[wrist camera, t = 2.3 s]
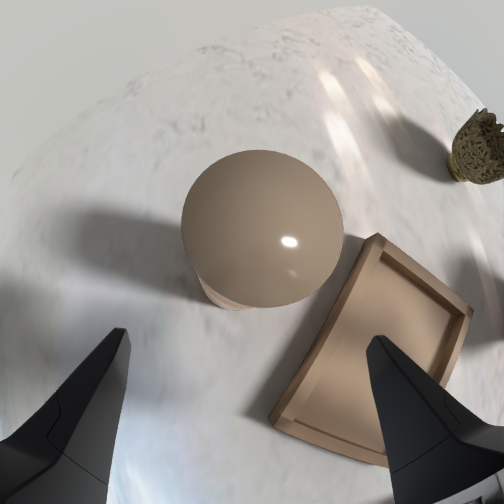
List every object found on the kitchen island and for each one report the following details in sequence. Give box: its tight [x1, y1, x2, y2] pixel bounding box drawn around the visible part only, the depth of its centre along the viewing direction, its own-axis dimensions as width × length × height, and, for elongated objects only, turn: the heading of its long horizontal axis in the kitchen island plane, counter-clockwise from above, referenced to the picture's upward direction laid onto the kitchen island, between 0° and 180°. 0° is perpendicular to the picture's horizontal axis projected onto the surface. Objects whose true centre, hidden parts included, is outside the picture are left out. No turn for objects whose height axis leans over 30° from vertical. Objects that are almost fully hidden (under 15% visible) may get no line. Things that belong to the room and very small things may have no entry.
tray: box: [268, 233, 474, 468], centre depth 20 cm, size 16×13×2 cm
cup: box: [447, 108, 504, 184], centre depth 23 cm, size 8×7×8 cm
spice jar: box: [181, 150, 344, 311], centre depth 15 cm, size 5×5×12 cm
